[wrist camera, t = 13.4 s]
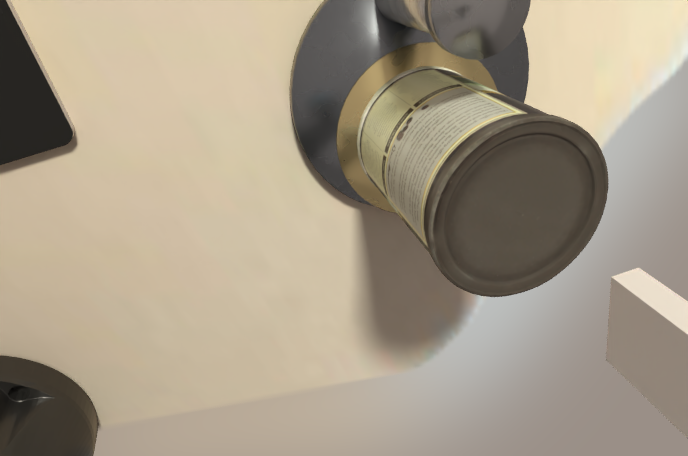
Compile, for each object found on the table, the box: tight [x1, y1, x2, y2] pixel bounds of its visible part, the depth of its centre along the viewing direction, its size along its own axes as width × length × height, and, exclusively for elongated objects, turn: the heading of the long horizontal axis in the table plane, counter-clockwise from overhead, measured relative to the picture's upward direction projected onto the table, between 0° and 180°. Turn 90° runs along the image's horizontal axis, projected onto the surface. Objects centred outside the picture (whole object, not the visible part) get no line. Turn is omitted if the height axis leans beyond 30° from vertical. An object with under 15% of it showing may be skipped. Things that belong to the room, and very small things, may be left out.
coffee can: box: [357, 66, 608, 297], centre depth 35 cm, size 10×10×14 cm
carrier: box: [290, 0, 530, 213], centre depth 35 cm, size 18×19×12 cm
